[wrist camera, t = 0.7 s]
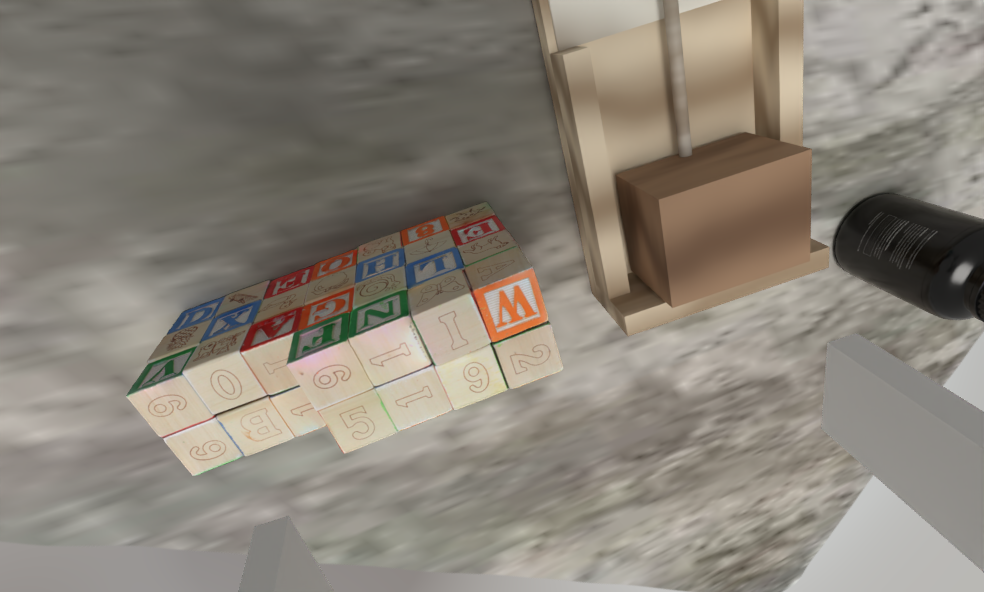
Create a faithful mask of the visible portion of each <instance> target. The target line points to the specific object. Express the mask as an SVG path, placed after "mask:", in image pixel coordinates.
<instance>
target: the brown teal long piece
mask: <svg viewBox="0 0 984 592" xmlns="http://www.w3.org/2000/svg"><path fill="white" fill-rule="evenodd" d="M663 8H664V18H665V27H666V37H667V47H668V56H669V66H670V76H671V85H672V95H673V104H674V114H675V124H676V133H677V143H678V153H679V154H677V155H674V156H671V157H668V158H665V159H662V160H659V161H656V162H653V163H650V164H646V165H643V166H640V167H637V168H634V169H631V170H628V171H625V172H622V173H619V174H616V175H615V176H616V182H617V188H618V194H619V201H620V207H621V213H622V219H623V225H624V231H625V237H626V243H627V250H628V256H629V262H630V268H631V271H632V272H634V273H635V274H636V275H637V276H638V277H639V278H640V279H641V280H642V281H643V282H644V283H646V284H647V285H648V286H649V287H650V288H651V289H652V290H653V291H654V292H655V293H656V294H657V295H659V296H660V297H661V298H662V299H663V300H664V301H665V302H666V303H667V304H668V305H669V306H670V307H672V308H675V307H677V306H680V305H683V304H686V303H689V302H692V301H695V300H698V299H701V298H704V297H707V296H710V295H712V294H715V293H718V292H721V291H724V290H727V289H730V288H733V287H736V286H739V285H742V284H745V283H748V282H750V281H753V280H756V279H759V278H762V277H765V276H768V275H771V274H774V273H777V272H780V271H783V270H785V269H788V268H791V267H794V266H797V265H800V264H803V263H806V262H809V261H810V236H811V166H812V149H810V148H806V147H802V146H798V145H794V144H790V143H786V142H783V141H779V140H775V139H771V138H767V137H763V136H759V135H755V134H751V133H748V132H744V133H741V134H738V135H735V136H732V137H729V138H726V139H723V140H720V141H717V142H714V143H710V144H707V145H704V146H701V147H698V148H695V149H692V146H691V135H690V124H689V113H688V102H687V91H686V80H685V70H684V59H683V48H682V37H681V26H680V15H679V4H678V0H663Z"/></svg>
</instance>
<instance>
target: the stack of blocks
mask: <svg viewBox="0 0 984 592" xmlns="http://www.w3.org/2000/svg"><path fill="white" fill-rule="evenodd" d="M147 363H148V365H147V366H146V367H145V369H144V370H143V372H142V373H141V375H140V376H139V378H138V379H137V381H136V382H135V383H134V385H133V386H132V388H131V389H130V391H129V392H128V394H127V395H126V396H127V398H128V399H129V400H130V401H131V403H132V404H133V405H134V406H135V408H136V409H137V410H138V411H139V412H140V414H141V415H142V416H143V417H144V418H145V420H146V421H147V422H148V424H149V425H150V426H151V427H152V429H153V430H154V431H155V432H156V434H157V435H158V436H159V437H162V438H163V439H164V441H165V443H166V444H167V445H168V446H169V448H170V449H171V450H172V451H173V452H174V454H175V455H176V456H177V457H178V458H179V460H180V461H181V462H182V463H183V465H184V466H185V467H186V468H187V469H188V471H189V472H190V473H191V474H192V475H193V476H195V475H199V474H201V473H204V472H206V471H209V470H211V469H214V468H216V467H219V466H221V465H224V464H227V463H229V462H232V461H234V460H236V459H239V458H241V457H242V456H249V455H252V454H254V453H257V452H260V451H262V450H265V449H268V448H270V447H273V446H275V445H278V444H280V443H283V442H286V441H288V440H291V439H293V438H294V437H298V436H302V435H305V434H307V433H310V432H312V431H315V430H317V429H320V428H322V427H324V426H327V427H328V428H329V430H330V432H331V433H332V435H333V436H334V438H335V440H336V442H337V443H338V445H339V447H340V449H341V450H342V452H343V453H348V452H351V451H353V450H356V449H358V448H361V447H364V446H366V445H369V444H371V443H373V442H376V441H379V440H381V439H384V438H386V437H389V436H391V435H394V434H396V433H397V432H398V431H401V430H404V429H407V428H410V427H412V426H415V425H417V424H420V423H422V422H425V421H427V420H429V419H432V418H435V417H438V416H440V415H443V414H445V413H447V412H449V411H451V410H457V409H460V408H463V407H465V406H468V405H470V404H473V403H476V402H478V401H481V400H484V399H486V398H489V397H491V396H494V395H496V394H499V393H501V392H504V391H506V390H507V389H508V388H510V389H515V388H517V387H520V386H523V385H525V384H528V383H531V382H533V381H536V380H539V379H541V378H544V377H547V376H549V375H552V374H555V373H557V372H560V371H561V370H563V365H562V361H561V358H560V354H559V351H558V348H557V344H556V341H555V337H554V333H553V330H552V326H551V324H550V322H549V321H548V315H547V311H546V308H545V304H544V301H543V298H542V294H541V291H540V288H539V284H538V281H537V278H536V275H535V272H534V269H533V267H532V266H531V264H530V263H529V261H528V260H527V259H526V257H525V256H524V255H523V253H522V252H521V250H520V247H519V245H518V244H517V243H516V242H515V240H514V238H513V237H512V236H511V234H510V233H509V232H508V231H507V230H506V228H505V227H504V226H503V224H502V223H501V222H500V220H499V219H498V218H497V216H495V213H494V211H493V210H492V208H491V207H490V206H489V204H488V203H487V202H484V203H481V204H478V205H475V206H473V207H470V208H467V209H464V210H461V211H458V212H456V213H453V214H450V215H447V216H441V217H438V218H435V219H433V220H430V221H427V222H424V223H421V224H419V225H416V226H413V227H410V228H408V229H405V230H402V231H400V232H396V233H394V234H390V235H387V236H385V237H382V238H379V239H376V240H374V241H371V242H368V243H366V244H363V245H360V246H359V247H358V248H357V249H355V250H351V251H348V252H346V253H343V254H341V255H338V256H335V257H332V258H330V259H327V260H324V261H321V262H319V263H316V264H315V265H314V266H310V267H308V268H305V269H302V270H299V271H296V272H293V273H291V274H289V275H285V276H283V277H280V278H277V279H275V280H273V281H270V280H267V281H264V282H262V283H259V284H256V285H253V286H251V287H248V288H245V289H242V290H240V291H237V292H234V293H231V294H229V295H227V296H225V297H222V298H219V299H216V300H213V301H210V302H208V303H205V304H203V305H200V306H197V307H195V308H192V309H189V310H186V311H184V312H182V313H181V315H180V316H179V318H178V319H177V321H176V322H175V323H174V324H173V326H172V328H171V329H170V330H169V331H168V333H167V335H166V336H165V337H164V338H163V339H162V341H161V342H160V344H159V345H158V346H157V348H156V349H155V351H154V352H153V354H152V355H151V356H150V358H149V359H148V361H147Z"/></svg>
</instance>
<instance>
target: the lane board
mask: <svg viewBox="0 0 984 592" xmlns="http://www.w3.org/2000/svg"><path fill="white" fill-rule="evenodd" d="M532 4H533V9H534V14H535V18H536V23H537V28H538V33H539V38H540V43H541V48H542V52H543V57H544V62H545V67H546V72H547V77H548V81H549V86H550V91H551V96H552V101H553V106H554V111H555V115H556V120H557V125H558V130H559V135H560V140H561V145H562V149H563V154H564V159H565V164H566V169H567V174H568V178H569V183H570V188H571V193H572V198H573V203H574V208H575V212H576V217H577V222H578V227H579V232H580V237H581V241H582V246H583V251H584V256H585V261H586V266H587V271H588V275H589V280H590V285H591V290H592V294H593V295H594V296H595V297H596V299H597V300H598V301H599V302H600V303H601V305H602V306H603V307H604V308H605V309H606V311H607V312H608V313H609V314H610V315H611V317H612V318H613V319H614V320H615V321H616V323H617V324H618V325H619V326H620V327H621V329H622V330H623V331H624V332H625V333H626V335H627V336H630V335H633V334H636V333H639V332H642V331H645V330H648V329H651V328H654V327H657V326H660V325H663V324H665V323H668V322H671V321H674V320H677V319H680V318H683V317H686V316H689V315H692V314H695V313H697V312H700V311H703V310H706V309H709V308H712V307H715V306H718V305H721V304H724V303H727V302H729V301H732V300H735V299H738V298H741V297H744V296H747V295H750V294H753V293H756V292H759V291H761V290H764V289H767V288H770V287H773V286H776V285H779V284H782V283H785V282H788V281H791V280H793V279H796V278H799V277H802V276H805V275H808V274H811V273H814V272H817V271H820V270H823V269H825V268H828V267H829V247H828V246H826V245H824V244H822V243H820V242H818V241H815V240H813V239H811V238H810V261H809V262H806V263H803V264H800V265H797V266H794V267H791V268H788V269H785V270H783V271H780V272H777V273H774V274H771V275H768V276H765V277H762V278H759V279H756V280H753V281H750V282H748V283H745V284H742V285H739V286H736V287H733V288H730V289H727V290H724V291H721V292H718V293H715V294H712V295H710V296H707V297H704V298H701V299H698V300H695V301H692V302H689V303H686V304H683V305H680V306H677V307H675V308H672V307H670V306H669V305H668V304H667V303H666V302H665V301H664V300H663V299H662V298H661V297H660V296H659V295H657V294H656V293H655V292H654V291H653V290H652V289H651V288H650V287H649V286H648V285H647V284H646V283H644V282H643V281H642V280H641V279H640V278H639V277H638V276H637V275H636V274H635V273H634V272H632V271H631V268H630V262H629V256H628V250H627V243H626V237H625V231H624V225H623V219H622V213H621V207H620V201H619V194H618V188H617V182H616V176H615V175H616V174H619V173H622V172H625V171H628V170H631V169H634V168H637V167H640V166H643V165H646V164H650V163H653V162H656V161H659V160H662V159H665V158H668V157H671V156H674V155H677V154H679V153H678V143H677V133H676V124H675V114H674V104H673V95H672V85H671V76H670V66H669V56H668V47H667V37H666V27H665V18H664V8H663V0H532ZM678 4H679V15H680V26H681V37H682V48H683V59H684V70H685V80H686V91H687V102H688V113H689V124H690V135H691V146H692V149H695V148H698V147H701V146H704V145H707V144H710V143H714V142H717V141H720V140H723V139H726V138H729V137H732V136H735V135H738V134H741V133H744V132H748V133H751V134H755V135H759V136H763V137H767V138H771V139H775V140H779V141H783V142H786V143H790V144H794V145H798V146H802V147H803V0H678Z"/></svg>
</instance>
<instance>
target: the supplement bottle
mask: <svg viewBox="0 0 984 592" xmlns="http://www.w3.org/2000/svg"><path fill="white" fill-rule="evenodd" d="M835 253H836V258H837V261H838V263H839V264H840V266H841V267H842V268H843V269H844V270H845V271H846V272H848V273H850V274H851V275H853V276H855V277H857V278H859V279H861V280H863V281H865V282H867V283H869V284H871V285H873V286H875V287H877V288H880V289H882V290H884V291H886V292H888V293H890V294H892V295H894V296H896V297H898V298H900V299H902V300H904V301H906V302H908V303H910V304H912V305H914V306H916V307H918V308H920V309H922V310H925V311H927V312H929V313H931V314H933V315H935V316H938V317H940V318H943V319H948V320H965V319H970V318H974V317H975V318H976V319H978V320H981V321H983V322H984V219H982V218H978V217H975V216H971V215H968V214H965V213H961V212H958V211H954V210H951V209H947V208H944V207H941V206H937V205H934V204H930V203H927V202H924V201H920V200H917V199H913V198H910V197H906V196H902V195H898V194H882V195H878V196H875V197H872V198H870V199H868V200H866V201H865V202H863V203H862V204H860V205H859V206H858V207H856V208H855V209H854V210H853V211H852V212H851V213H850V214H849V216H848V217H847V218H846V219H845V221H844V222H843V224H842V226H841V228H840V230H839V232H838V235H837V238H836V243H835Z"/></svg>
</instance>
